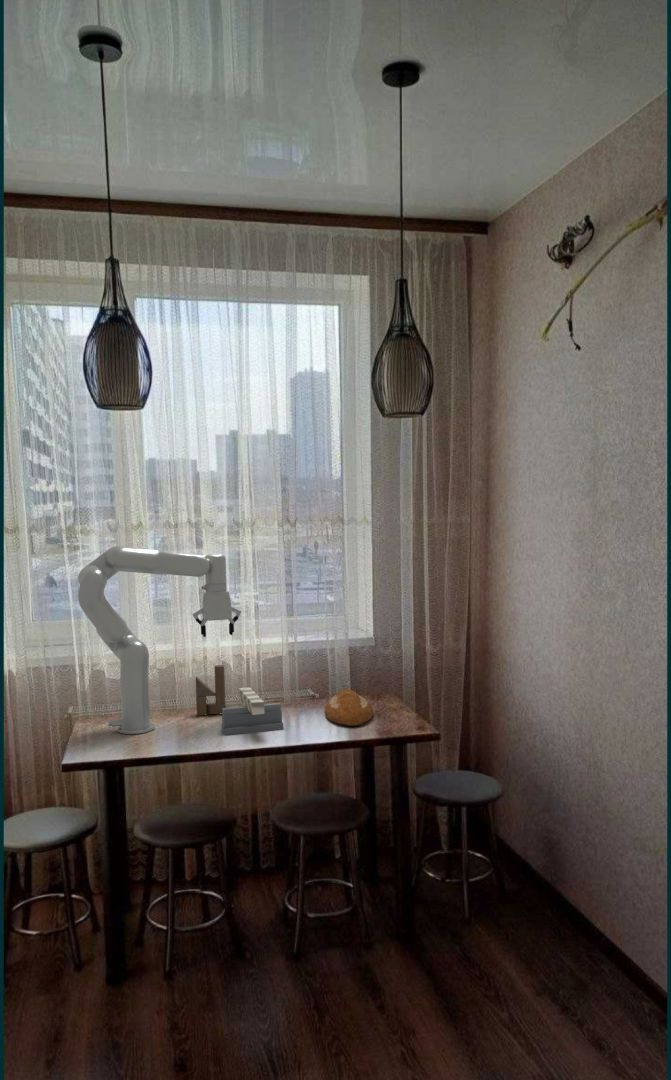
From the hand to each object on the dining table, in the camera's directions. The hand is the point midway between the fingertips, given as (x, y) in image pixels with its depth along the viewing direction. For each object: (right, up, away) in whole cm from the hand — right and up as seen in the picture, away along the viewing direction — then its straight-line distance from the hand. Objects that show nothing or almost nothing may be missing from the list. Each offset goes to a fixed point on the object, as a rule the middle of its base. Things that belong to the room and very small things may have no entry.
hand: (217, 635), depth 306 cm
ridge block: (+14, -31, -15) cm, 37 cm away
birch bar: (+14, -23, -15) cm, 30 cm away
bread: (+47, -30, +1) cm, 56 cm away
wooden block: (-3, -30, +8) cm, 32 cm away
